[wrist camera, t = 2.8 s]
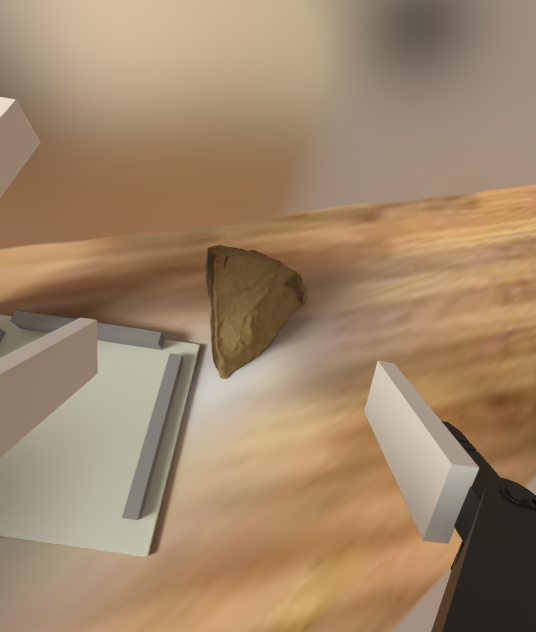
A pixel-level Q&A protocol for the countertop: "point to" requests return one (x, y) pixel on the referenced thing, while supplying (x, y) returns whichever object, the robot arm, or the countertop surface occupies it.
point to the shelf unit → (92, 422)
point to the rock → (247, 303)
